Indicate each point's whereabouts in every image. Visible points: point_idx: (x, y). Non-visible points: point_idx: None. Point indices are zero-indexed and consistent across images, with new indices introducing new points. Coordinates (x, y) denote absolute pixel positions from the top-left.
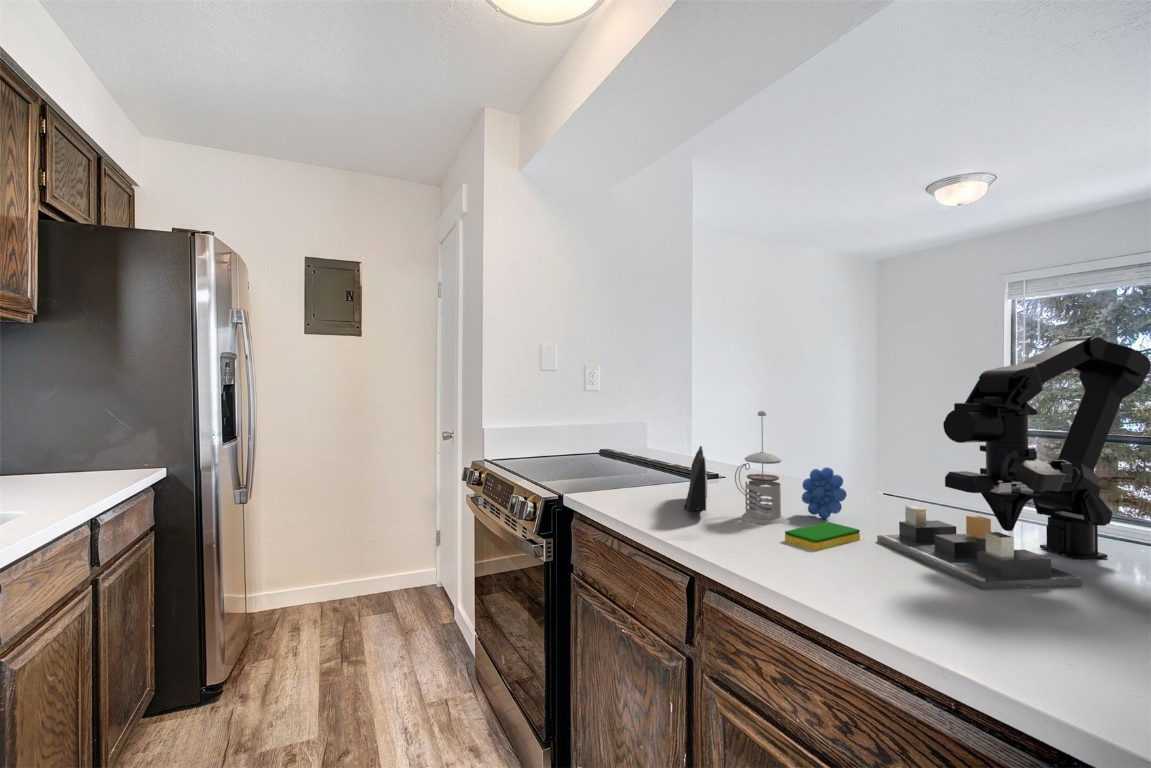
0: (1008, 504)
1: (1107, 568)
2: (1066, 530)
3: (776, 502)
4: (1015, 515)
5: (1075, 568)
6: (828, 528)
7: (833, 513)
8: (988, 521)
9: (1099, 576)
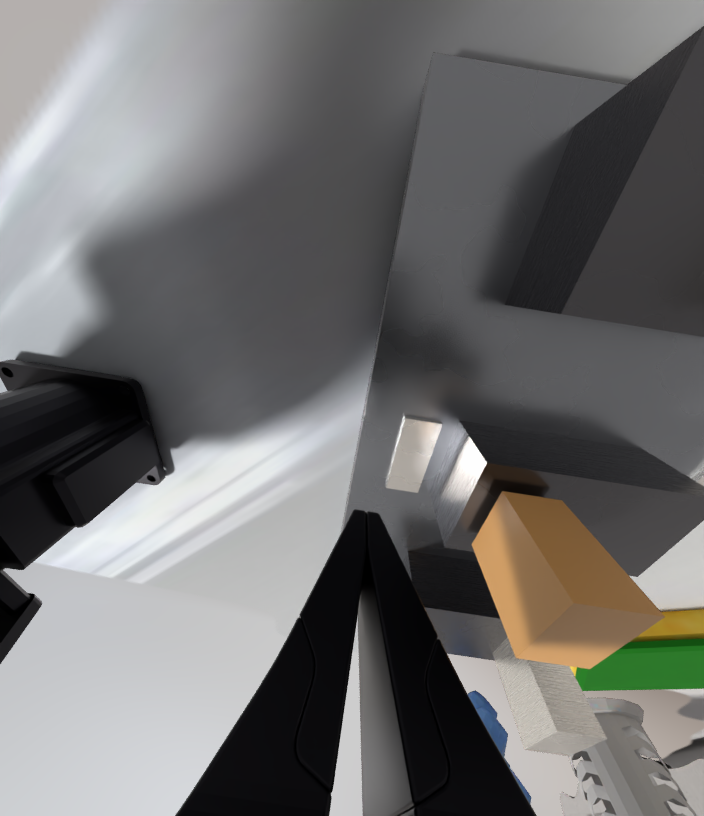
0: (470, 794)
1: (90, 276)
2: (34, 465)
3: (636, 778)
4: (346, 601)
5: (217, 308)
6: (655, 672)
7: (484, 708)
8: (582, 586)
9: (204, 199)
